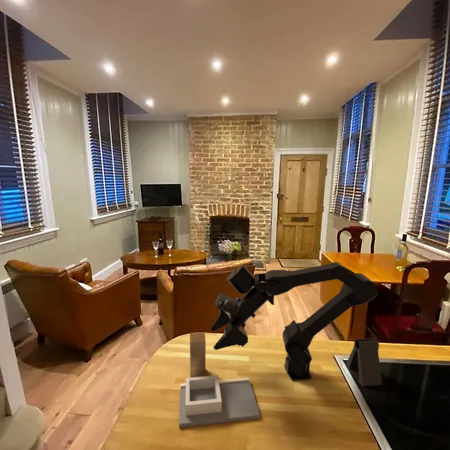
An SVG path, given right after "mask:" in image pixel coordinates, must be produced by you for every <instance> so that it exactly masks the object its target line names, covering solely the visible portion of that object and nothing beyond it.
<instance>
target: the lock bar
mask: <svg viewBox="0 0 450 450" xmlns="http://www.w3.org/2000/svg"><path fill="white" fill-rule="evenodd" d="M206 342H207V341H206V333H205V331H202V332H189V366H190V367H189V371H190V372H189V374H190V375H189V376H190V377H189V378H192V377H204V376H206V358H207V357H206V352H207V351H206V350H207V349H206V346H207V345H206V344H207V343H206Z"/></svg>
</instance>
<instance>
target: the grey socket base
mask: <svg viewBox="0 0 450 450" xmlns="http://www.w3.org/2000/svg"><path fill="white" fill-rule="evenodd" d="M179 389H180V390H179V391H180V395H179V416H178V417H179V418H178V421H179V424H178V425H179V426H178V427H179V428H186V427H196V426H205V425H213V424H222V423H223V424H224V423H231V422H232V423H233V422H239V421H247V420H257V419H261V414H260V411H259V407H258V404H257V401H256V397H255V394H254V391H253V387H252V384H251V379H250V377H239V378H229V379H219V375H218V374H217V375H205V376H204V377H192V378H190V377H186V378H185V382H182V383H180V388H179Z"/></svg>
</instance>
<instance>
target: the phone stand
mask: <svg viewBox="0 0 450 450" xmlns="http://www.w3.org/2000/svg"><path fill="white" fill-rule="evenodd" d="M353 341H354V342H353V343H354V344H353V348H352V349H351V352H350V354H349V356H348V358H347V361H346V363H345V367H346V368H347V367H348V368H347V369H348V370H349V371H350V373H351V374H352V376H354V378H355V379H356V380H357V382H358V384H360V385H361V386H362V387H373V386H374V387H375V386H382V385H383V383H382V375H381V374H382V372H381V364H380V357H379V356H380V355H379V348H380V343H379V341H378V340H377V339H376V338H357V339H356V338H355V339H354V340H353Z"/></svg>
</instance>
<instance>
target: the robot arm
mask: <svg viewBox="0 0 450 450" xmlns="http://www.w3.org/2000/svg"><path fill="white" fill-rule="evenodd" d="M229 273H230V274H229V275H228V276H227V277H226V281H227V282H228V283H229V284H230V286H232V287H233V288H234V289H235V290H236V291H237V293H239V294H242V295H243V296H242V297H241V296H237V297H236V298H233V297H232V296H229V295H227V294H224V293H222V292H220V293H219V294H218V295H217V297H216V300H215V301H214V304H215V307H216V309H217V310H219V314H217V317H216V319H215V321H214V322H213V324H212V326H211V328H210V331H211V332H215V331H217V330H219V329H221V328H222V327H224V326H225V327H224V331H223V334H222V336H221V337H219V339H218V340H217V342H215V344H214V345H213V349H214V350H215V351H218V350H220V349H224V348H225V349H226V348H229V347H232V346H238V347H240V346H241V347H242V348H243V347H245V346H246V345H247V344H248V342H249V336H248V334H247V331H246V329H244V328H245V327H246V326H247V325H246V321H248V320H249V319H250V318H251V317H252V318H253V319H254V318H255V317H256V316H257V315H256V312H257V311H258V310H259V309H261V307H263V305H264V304H266V302H268V303H270V305H271V306H274V305H275V297H276V296H279V295H282V294H283V295H284V294H286V293H288V292H290V291H291V290H293V289H294V288H297V287H301V286H302V287H303V286H307V285H312V284H317V283H323V282H329V281H333V280H338V281H340V282H341V283H342V287H341V288H340V291H339V292H338V293H337V294H336V295H335V296H333V297H332V298H331V299H330V300H329V301H327V302H326V303H325V304H324V305H322V306H321V307H320V308H319V309H318V310H316V311H314V313H312V314H311V315H310V316H309V317H307V318H306V319H305V320H304V321H302V322H297V321H296V320H292V321H291V322H290V323H289V324H288V325H286V326H284V329H283V330H282V335H281V336H282V340H283V345H284V349H285V352H286V353H287V354H286V355H287V356H285V362H284V366H283V367H284V370H285V371H286V373H287V374H288V377H289V379H290V380H291V381H301V380H303V381H304V380H311V379H312V374H311V373H310V367H311V363H312V360H313V357H312V355H311V351H310V349H309V347H310V345H311V343H312V341H313V339H314V337H315V336H316V335H318V334H319V333H320V332H322V331H323V330H324V329H325V328H327V326H329V325H330V324H331V323H333V322H334V321H335V320H336V319H338V318H339V317H340V316H341V315H342V314H344V313H346V312H347V311H348V310H349V309H350V308H352V307H355V306H360V305H364V304H366V303H368V302H369V301H371V300H373V299H375V298H376V296H378V286H377V284H376V283H375V282H373V280H371V279H370V278H369V277H368V276H366V275H365V274H363V273H361V272H360V273H359V272H358V273H357V272H354V271H353V270H351V269H350V268H348V267H345V266H344V265H342V264H341V262H339V261H338V262H337V261H334V262H331V263H327V264H323V265H316V266H312V267H307V268H302V269H300V268H299V269H297V270H285V269H270V270H268V271H266V272H263V273H254V274H253V273H252V272H250V270H249V269H248V267H247V266H246V265H245V264H242V265H240V266H239V267H237V268H234V269H233V270H232V271H231V272H229Z"/></svg>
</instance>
